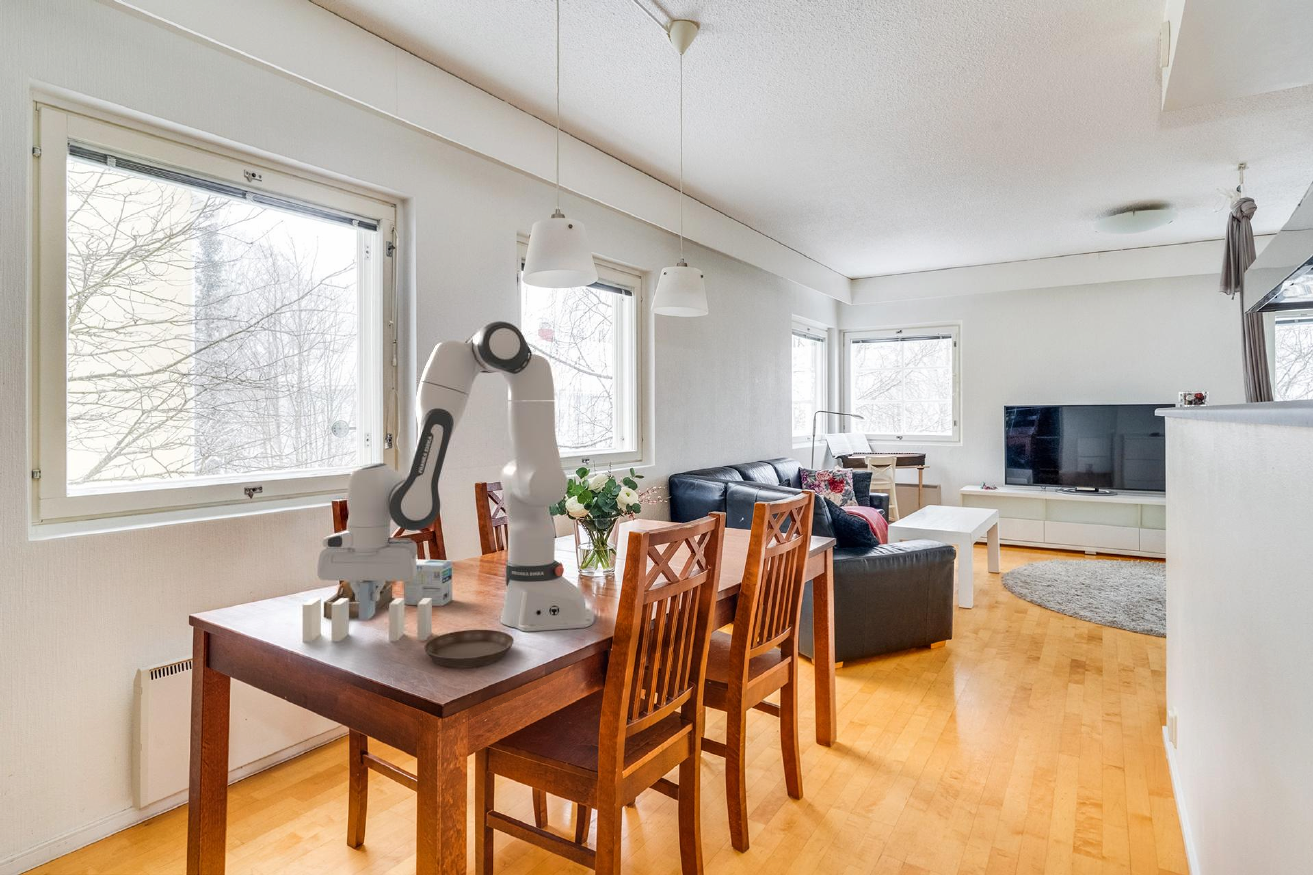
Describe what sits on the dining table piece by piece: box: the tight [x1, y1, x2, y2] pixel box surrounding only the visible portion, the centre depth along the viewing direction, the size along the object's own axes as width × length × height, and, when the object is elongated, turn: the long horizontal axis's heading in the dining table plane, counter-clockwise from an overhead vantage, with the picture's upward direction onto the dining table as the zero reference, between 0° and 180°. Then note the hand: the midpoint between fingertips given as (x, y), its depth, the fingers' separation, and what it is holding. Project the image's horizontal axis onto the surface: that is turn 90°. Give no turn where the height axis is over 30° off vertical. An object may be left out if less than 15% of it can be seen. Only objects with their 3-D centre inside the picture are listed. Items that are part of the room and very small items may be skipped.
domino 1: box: [302, 597, 322, 643], centre depth 148 cm, size 2×5×8 cm, turn 5°
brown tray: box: [323, 584, 393, 619], centre depth 172 cm, size 11×19×4 cm, turn 5°
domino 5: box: [416, 598, 433, 642], centre depth 150 cm, size 2×5×8 cm, turn 5°
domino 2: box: [331, 598, 350, 642], centre depth 148 cm, size 2×5×8 cm, turn 5°
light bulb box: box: [403, 558, 453, 607], centre depth 177 cm, size 11×7×11 cm, turn 84°
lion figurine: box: [336, 581, 393, 602], centre depth 172 cm, size 15×5×9 cm, turn 124°
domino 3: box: [358, 581, 376, 621], centre depth 149 cm, size 2×5×8 cm, turn 5°
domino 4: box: [388, 597, 405, 642], centre depth 149 cm, size 2×5×8 cm, turn 5°
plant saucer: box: [423, 629, 515, 669], centre depth 139 cm, size 18×18×3 cm
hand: (367, 600), depth 149 cm, fingers closed on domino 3, 2 cm apart
